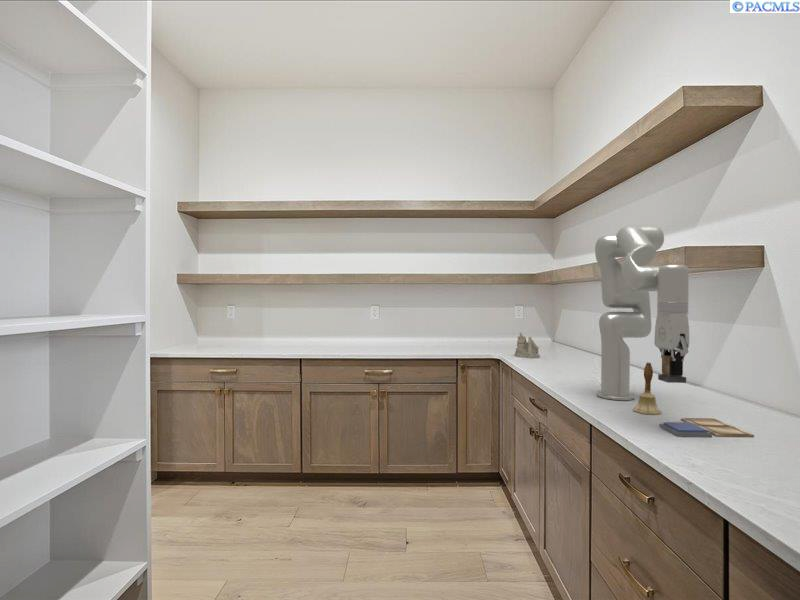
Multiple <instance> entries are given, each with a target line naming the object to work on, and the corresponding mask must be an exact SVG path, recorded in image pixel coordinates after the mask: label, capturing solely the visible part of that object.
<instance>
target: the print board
mask: <svg viewBox="0 0 800 600" xmlns="http://www.w3.org/2000/svg"><path fill="white" fill-rule="evenodd" d="M680 421H681V422H690V423H693V424H695V425H697V426H699V427H701V428H704V429H706V430H708V432H710V433H712V436H714V437H717V438H718V437H719V438H720V437H723V438H724V437H725V438H727V437H728V438H729V437H730V438H731V437H732V438H733V437H734V438H740V437H741V438H755V434H754V433H752V432H751V433H750V432H748V431H745V430H744V429H741V428H739V427H736V426H733V425H731V424H728V423H726V422H724V421H722V420H718V419H717V418H711V417H710V418H708V417H705V418H704V417H701V418H698V417H697V418H695V417H694V418H693V417H692V418H691V417H690V418H689V417H684V418H682V417H681V418H680Z"/></svg>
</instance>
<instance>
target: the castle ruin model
mask: <svg viewBox="0 0 800 600" xmlns="http://www.w3.org/2000/svg"><path fill="white" fill-rule="evenodd" d="M527 339H528V340H527ZM514 357H517V358H523V359H525V358H526V359H539V358H541V355H540V354H539V346H538V345H537V344H536V343H535V342H534V340H533V339H532V336H529V337H528V338H527V337H526V336H524V335H523V334H522V332H520V333H519V336H517V341H516V348H515V352H514Z"/></svg>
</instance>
